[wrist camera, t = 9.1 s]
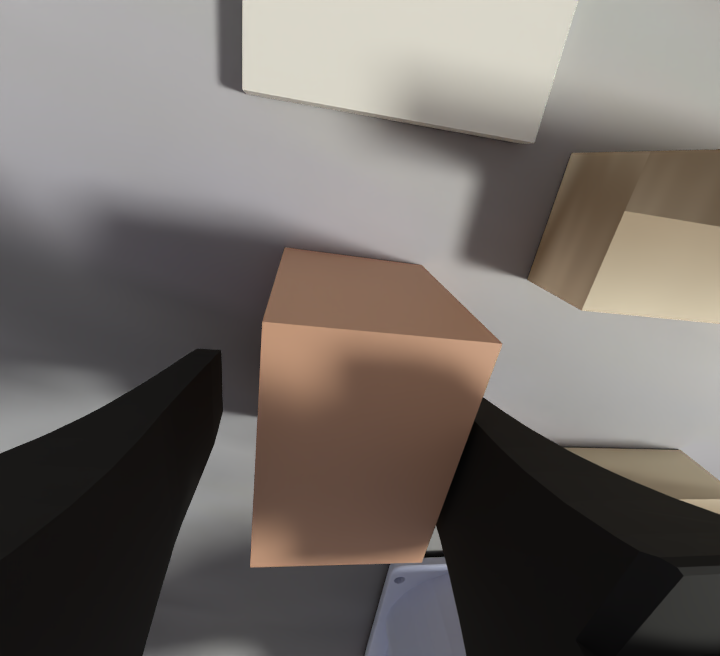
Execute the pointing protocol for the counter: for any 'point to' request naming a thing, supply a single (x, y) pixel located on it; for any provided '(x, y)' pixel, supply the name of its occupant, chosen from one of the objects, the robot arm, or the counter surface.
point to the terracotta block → (360, 409)
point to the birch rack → (639, 270)
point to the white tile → (411, 59)
